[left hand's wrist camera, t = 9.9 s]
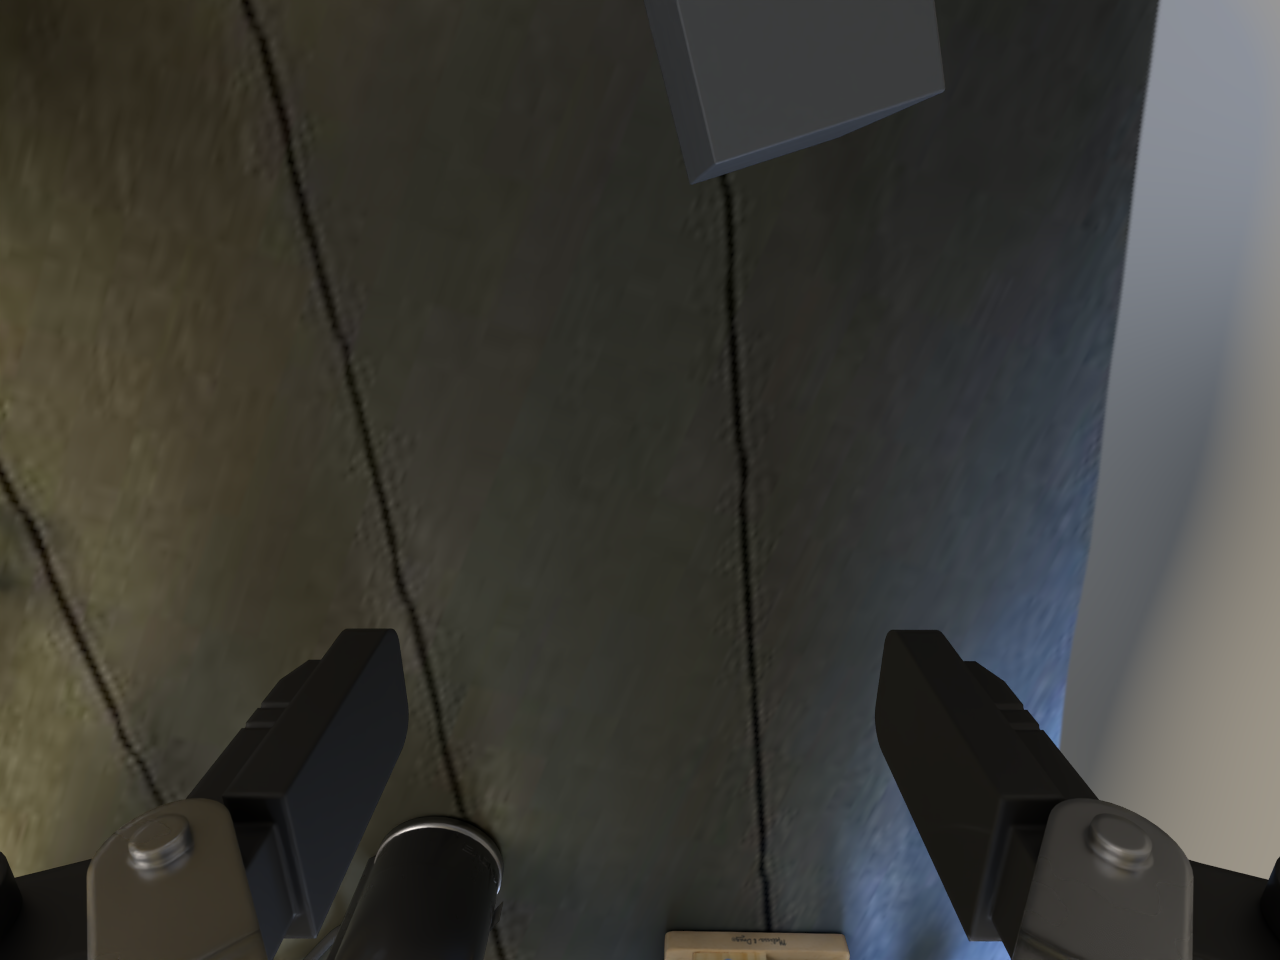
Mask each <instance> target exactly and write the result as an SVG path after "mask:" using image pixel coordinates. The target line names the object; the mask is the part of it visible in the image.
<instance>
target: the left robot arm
mask: <svg viewBox="0 0 1280 960" xmlns="http://www.w3.org/2000/svg"><path fill="white" fill-rule="evenodd" d="M261 704H262V705H261V708H257V710H256V711H255V712H254V713H253V715H252V716H251V717H250V718H249V720H248V721H247V722H246V727H245V728H242V729H241V730H240V731H239V732H238V734H237V735H236V736H235V737H234V739H233V740H232V741H231V742H230V744H229V745H228V746H227V748H226V749H225V750H224V751H223V753H222V754H221V755H220V756H219V758H218V759H217V760H216V761H215V763H214V764H213V765H212V766H211V768H210V769H209V770H208V772H207V773H206V774H205V775H204V777H203V778H202V779H201V780H200V782H199V783H198V784H197V785H196V787H195V788H194V789H193V790H192V792H191V793H190V794H189V796H188V797H187V798H186V799H184V800H179V801H175V802H171V803H168V804H165V805H162V806H159V807H156V808H154V809H152V810H150V811H147V812H145V813H143V814H142V815H140V816H138V817H136V818H134V819H133V820H131V821H130V822H128V823H127V824H125V825H124V826H122V827H121V828H120V829H119V830H117V831H116V832H115V833H114V834H112V835H111V836H110V837H109V838H108V839H107V840H106V841H105V842H104V843H103V844H102V846H101V847H100V848H99V849H98V851H97V852H96V853H95V855H94V857H93V858H92V859H89V860H85V861H81V862H77V863H73V864H69V865H65V866H61V867H57V868H53V869H49V870H45V871H41V872H37V873H32V874H28V875H24V876H20V877H16V878H14V876H13V873H12V871H11V868H10V866H9V864H8V861H7V859H6V857H5V856H4V855H3V853H2V852H0V960H273V958H274V956H275V954H276V952H277V950H278V948H279V946H280V944H281V942H282V940H283V938H316V937H317V935H318V933H319V931H320V929H321V926H322V924H323V922H324V920H325V918H326V915H327V913H328V911H329V909H330V907H331V904H332V902H333V900H334V898H335V896H336V893H337V891H338V889H339V887H340V885H341V882H342V880H343V878H344V876H345V874H346V871H347V869H348V867H349V865H350V863H351V860H352V858H353V856H354V854H355V852H356V849H357V847H358V845H359V843H360V841H361V838H362V836H363V834H364V832H365V830H366V827H367V825H368V823H369V821H370V819H371V816H372V814H373V812H374V810H375V808H376V805H377V803H378V801H379V799H380V797H381V794H382V792H383V790H384V788H385V786H386V783H387V781H388V779H389V777H390V775H391V772H392V770H393V768H394V766H395V764H396V761H397V759H398V757H399V755H400V753H401V750H402V748H403V745H404V742H405V739H406V734H407V728H408V715H409V713H408V702H407V694H406V687H405V680H404V673H403V666H402V659H401V651H400V644H399V639H398V635H397V633H396V631H395V630H394V629H345V630H343V631H342V632H341V634H340V635H339V636H338V638H337V639H336V640H335V642H334V643H333V644H332V646H331V647H330V649H329V650H328V651H327V653H326V654H325V655H324V657H323V658H322V659H321V660H308V661H307V662H305V663H304V664H302V665H301V666H299V667H298V668H297V669H295V670H294V671H292V672H291V673H289V674H288V675H286V676H285V677H284V678H282V679H281V680H280V681H279V682H278V683H277V684H276V686H275V687H274V688H273V689H272V691H271V692H270V693H269V695H268V696H267V697H266V698H265V700H264V701H263V702H262V703H261ZM875 725H876V733H877V738H878V742H879V745H880V748H881V750H882V753H883V755H884V757H885V759H886V761H887V764H888V766H889V768H890V770H891V772H892V774H893V777H894V779H895V781H896V783H897V785H898V787H899V790H900V792H901V794H902V796H903V798H904V801H905V803H906V805H907V807H908V809H909V811H910V814H911V816H912V818H913V820H914V822H915V824H916V827H917V829H918V831H919V833H920V835H921V838H922V840H923V842H924V844H925V846H926V848H927V851H928V853H929V855H930V857H931V859H932V861H933V864H934V866H935V868H936V870H937V872H938V874H939V877H940V879H941V881H942V883H943V885H944V888H945V890H946V892H947V894H948V896H949V898H950V901H951V903H952V905H953V907H954V909H955V911H956V914H957V916H958V918H959V920H960V922H961V924H962V927H963V929H964V931H965V933H966V935H967V938H968V940H969V941H1002V942H1003V944H1004V946H1005V948H1006V950H1007V952H1008V954H1009V956H1010V958H1011V960H1280V857H1279V858H1278V859H1277V861H1276V864H1275V866H1274V868H1273V871H1272V873H1271V875H1270V878H1269V880H1267V879H1263V878H1259V877H1255V876H1251V875H1247V874H1243V873H1238V872H1234V871H1230V870H1226V869H1222V868H1218V867H1214V866H1210V865H1206V864H1202V863H1198V862H1195V861H1191V860H1188V859H1187V857H1186V855H1185V854H1184V852H1183V851H1182V849H1181V848H1180V847H1179V846H1178V844H1177V843H1176V842H1175V841H1174V840H1173V839H1172V838H1171V837H1170V836H1169V835H1168V834H1166V833H1165V832H1164V831H1163V830H1161V829H1160V828H1159V827H1158V826H1156V825H1155V824H1153V823H1152V822H1150V821H1149V820H1147V819H1146V818H1144V817H1142V816H1140V815H1138V814H1136V813H1135V812H1132V811H1130V810H1128V809H1126V808H1124V807H1121V806H1118V805H1115V804H1112V803H1109V802H1105V801H1101V800H1099V799H1098V798H1097V797H1096V795H1095V794H1094V793H1093V792H1092V790H1091V789H1090V788H1089V787H1088V785H1087V784H1086V783H1085V782H1084V780H1083V779H1082V778H1081V777H1080V776H1079V774H1078V773H1077V772H1076V770H1075V769H1074V768H1073V767H1072V765H1071V764H1070V763H1069V762H1068V760H1067V759H1066V758H1065V757H1064V755H1063V754H1062V753H1061V752H1060V750H1059V749H1058V748H1057V747H1056V745H1055V744H1054V743H1053V742H1052V740H1051V739H1050V738H1049V737H1048V735H1047V734H1046V733H1045V732H1044V730H1040V729H1039V724H1038V723H1037V722H1036V720H1035V719H1034V718H1033V717H1032V715H1031V714H1030V713H1029V712H1028V710H1024V708H1023V704H1022V703H1021V702H1020V700H1019V699H1018V698H1017V697H1016V695H1015V694H1014V693H1013V692H1012V690H1011V689H1010V688H1009V687H1008V685H1007V684H1006V683H1005V682H1004V681H1003V680H1002V679H1000V678H999V677H997V676H996V675H994V674H993V673H991V672H990V671H989V670H987V669H986V668H984V667H983V666H981V665H980V664H978V663H977V662H976V661H963V660H962V659H961V658H960V656H959V655H958V654H957V652H956V651H955V650H954V648H953V647H952V645H951V644H950V643H949V641H948V640H947V639H946V637H945V636H944V635H943V634H942V632H940V631H938V630H891V631H889V632H888V634H887V636H886V639H885V644H884V650H883V657H882V665H881V672H880V679H879V686H878V693H877V700H876V707H875ZM503 869H504V866H503V859H502V856H501V853H500V851H499V849H498V847H497V846H496V844H495V843H494V842H493V841H492V839H491V838H490V837H489V836H487V835H486V834H485V833H484V832H482V831H481V830H480V829H478V828H476V827H475V826H473V825H471V824H468V823H466V822H463V821H460V820H457V819H453V818H447V817H434V816H432V817H422V818H416V819H413V820H409V821H407V822H404V823H402V824H400V825H398V826H397V827H395V828H394V829H393V830H391V831H390V832H389V833H388V834H387V835H386V837H385V838H384V839H383V841H382V843H381V845H380V848H379V850H378V852H377V855H376V856H374V857H372V858H370V859H369V860H368V862H367V865H366V867H365V870H364V872H363V874H362V877H361V879H360V881H359V884H358V886H357V888H356V891H355V893H354V895H353V898H352V900H351V902H350V905H349V907H348V910H347V912H346V914H345V917H344V919H343V921H342V924H341V925H339V926H337V927H336V928H334V929H333V930H332V931H331V932H330V933H328V934H327V935H326V936H325V937H324V938H323V939H322V940H321V941H320V942H319V943H318V945H317V946H316V947H315V948H314V949H313V950H312V951H311V952H310V953H309V954H308V955H307V956H306V957H305V958H304V959H303V960H318V959H319V958H320V957H321V956H322V955H323V954H324V952H325V951H326V950H327V949H328V948H329V947H330V946H331V945H332V944H333V945H332V947H331V950H330V952H329V954H328V957H327V959H326V960H483V959H484V954H485V950H486V945H487V940H488V935H489V931H490V930H491V929H492V928H493V927H494V926H495V925H496V924H497V923H498V921H499V920H500V915H501V910H502V905H503V902H502V903H501V904H500V905H499V906H498V907H497V909H496V910H495V911H494V907H495V902H496V897H497V893H498V891H499V889H500V886H501V881H502V876H503Z"/></svg>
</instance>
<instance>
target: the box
mask: <svg viewBox="0 0 1280 960" xmlns="http://www.w3.org/2000/svg"><path fill="white" fill-rule="evenodd" d="M644 4H645V8H646V11H647V15H648V19H649V23H650V27H651V31H652V35H653V39H654V43H655V47H656V51H657V55H658V59H659V63H660V67H661V71H662V75H663V79H664V83H665V87H666V91H667V95H668V99H669V103H670V107H671V111H672V115H673V119H674V123H675V127H676V131H677V135H678V139H679V143H680V147H681V151H682V155H683V159H684V163H685V167H686V171H687V175H688V179H689V182H690V184H696V183H699V182H702V181H705V180H708V179H711V178H714V177H717V176H720V175H724V174H727V173H730V172H733V171H736V170H739V169H742V168H745V167H748V166H752V165H755V164H758V163H761V162H764V161H767V160H770V159H773V158H776V157H780V156H783V155H786V154H789V153H792V152H795V151H798V150H801V149H804V148H808V147H811V146H814V145H817V144H820V143H823V142H826V141H829V140H833V139H836V138H839V137H841V136H843V135H845V134H848V133H850V132H852V131H855V130H857V129H859V128H862V127H864V126H866V125H868V124H871V123H873V122H875V121H878V120H880V119H882V118H885V117H887V116H889V115H891V114H894V113H896V112H898V111H901V110H903V109H905V108H908V107H910V106H912V105H914V104H917V103H919V102H921V101H924V100H926V99H928V98H930V97H933V96H935V95H937V94H940V93H942V92H943V91H945V80H944V72H943V64H942V56H941V48H940V41H939V33H938V25H937V17H936V9H935V1H934V0H644Z"/></svg>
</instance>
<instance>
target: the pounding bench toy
mask: <svg viewBox="0 0 1280 960" xmlns="http://www.w3.org/2000/svg"><path fill="white" fill-rule="evenodd" d="M849 957H850V953H849V950H848V946H847V943H846V939H845V936H844V935H843V934H812V933H763V932H708V931H671V932H667V933H666V935H665V947H664V960H849Z"/></svg>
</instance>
